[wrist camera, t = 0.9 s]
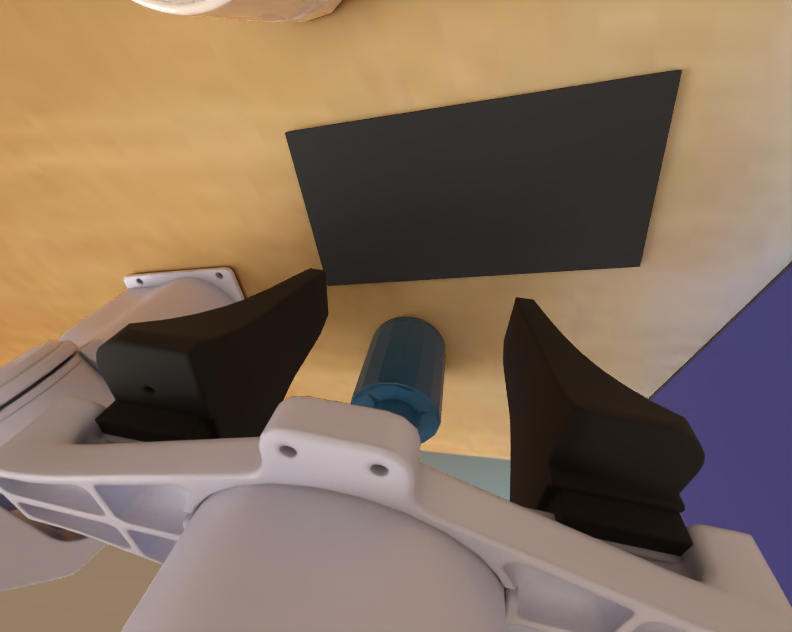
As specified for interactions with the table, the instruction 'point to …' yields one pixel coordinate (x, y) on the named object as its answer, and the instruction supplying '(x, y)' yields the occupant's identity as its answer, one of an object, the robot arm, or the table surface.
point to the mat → (489, 184)
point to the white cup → (246, 9)
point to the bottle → (405, 373)
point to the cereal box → (743, 426)
